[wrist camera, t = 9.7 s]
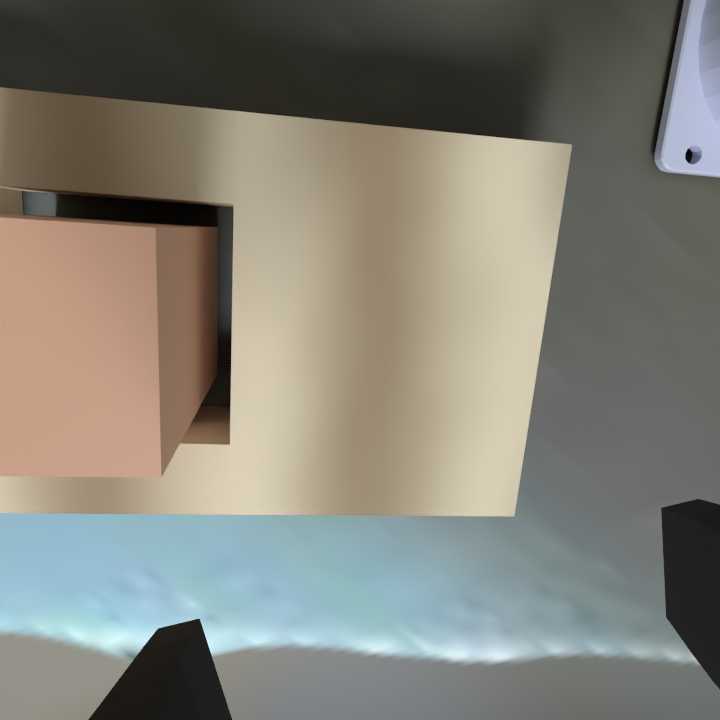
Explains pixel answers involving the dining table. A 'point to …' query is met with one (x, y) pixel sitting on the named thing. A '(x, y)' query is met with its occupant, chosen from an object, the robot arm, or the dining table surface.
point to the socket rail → (326, 303)
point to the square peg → (103, 343)
